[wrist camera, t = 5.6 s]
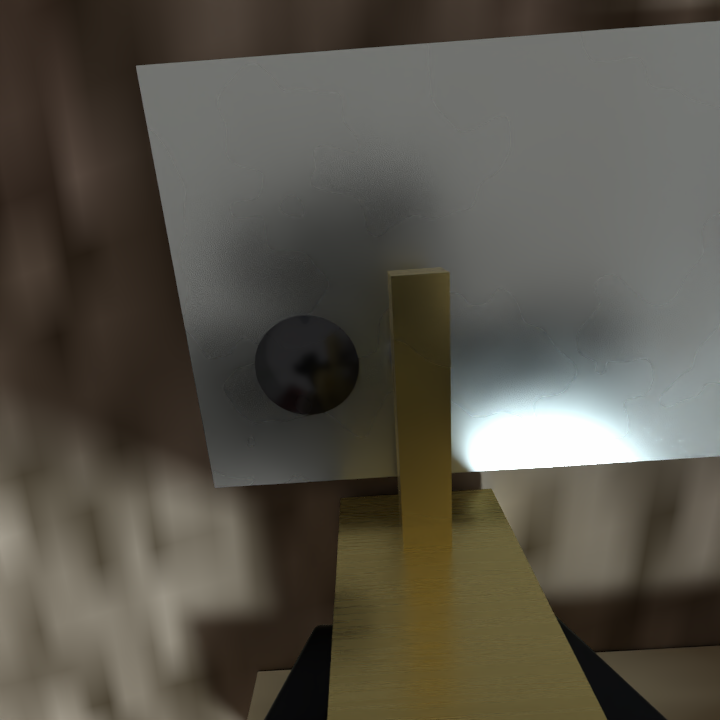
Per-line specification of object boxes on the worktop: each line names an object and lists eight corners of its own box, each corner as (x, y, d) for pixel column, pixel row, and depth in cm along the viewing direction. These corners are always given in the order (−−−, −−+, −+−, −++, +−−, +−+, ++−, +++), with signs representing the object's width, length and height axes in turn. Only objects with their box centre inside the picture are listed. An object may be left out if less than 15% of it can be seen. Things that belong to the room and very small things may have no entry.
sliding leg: (495, 257, 8) (1525, 519, 1) (486, 716, 11) (698, 1533, 4) (319, 270, 8) (50, 607, 1) (361, 723, 11) (368, 1542, 4)
